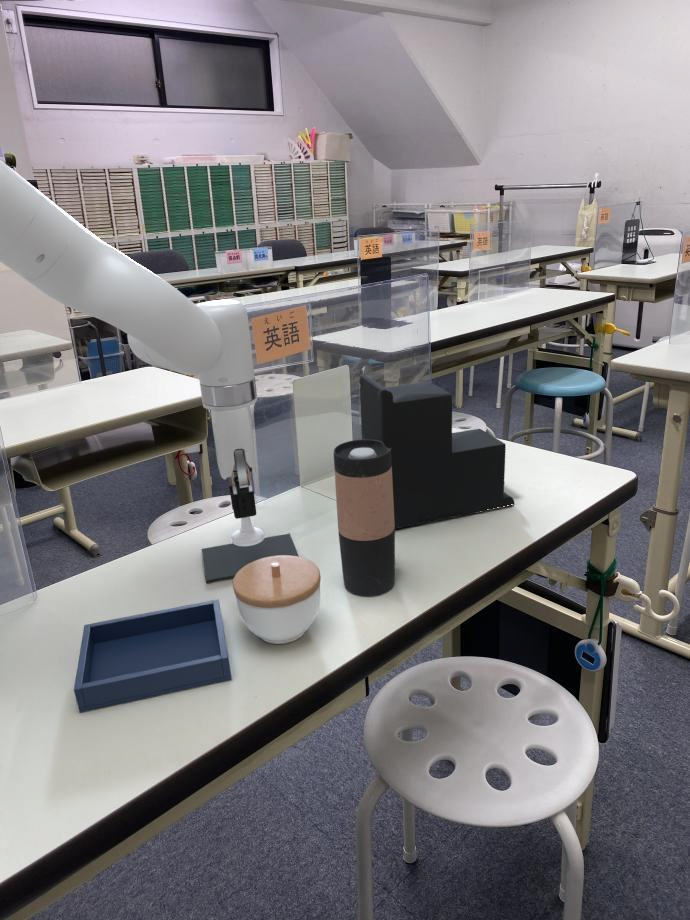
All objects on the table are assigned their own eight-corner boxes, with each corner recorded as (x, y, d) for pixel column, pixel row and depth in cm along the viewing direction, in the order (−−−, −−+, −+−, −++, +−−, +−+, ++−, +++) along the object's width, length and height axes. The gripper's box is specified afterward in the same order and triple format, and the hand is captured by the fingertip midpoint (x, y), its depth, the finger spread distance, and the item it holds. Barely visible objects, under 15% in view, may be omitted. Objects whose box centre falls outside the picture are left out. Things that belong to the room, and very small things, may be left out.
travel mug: (333, 593, 94) (323, 457, 86) (353, 565, 100) (345, 437, 93) (386, 601, 91) (380, 462, 84) (403, 572, 97) (399, 441, 90)
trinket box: (291, 596, 94) (285, 535, 90) (342, 629, 86) (337, 563, 82) (223, 629, 87) (214, 565, 84) (271, 668, 80) (263, 599, 76)
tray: (79, 713, 74) (73, 690, 73) (89, 645, 86) (84, 624, 85) (231, 679, 78) (228, 657, 77) (221, 619, 89) (218, 598, 88)
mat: (206, 583, 98) (206, 580, 98) (201, 551, 107) (201, 548, 107) (302, 565, 101) (301, 562, 101) (289, 536, 110) (289, 533, 110)
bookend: (484, 483, 124) (486, 356, 116) (515, 506, 115) (520, 370, 106) (363, 507, 118) (355, 374, 110) (385, 533, 109) (379, 391, 100)
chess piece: (252, 528, 106) (244, 468, 102) (271, 537, 102) (264, 476, 99) (225, 539, 103) (216, 478, 99) (243, 549, 99) (235, 486, 96)
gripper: (198, 382, 101) (214, 495, 108) (205, 412, 86) (224, 541, 93) (248, 376, 102) (261, 488, 109) (264, 404, 88) (278, 531, 95)
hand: (244, 511), depth 101 cm, fingers closed on chess piece
